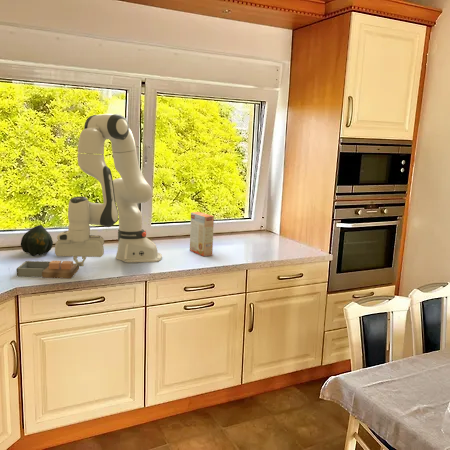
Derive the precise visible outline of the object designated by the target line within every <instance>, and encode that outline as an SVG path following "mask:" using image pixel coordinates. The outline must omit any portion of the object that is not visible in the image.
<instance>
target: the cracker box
mask: <svg viewBox="0 0 450 450" xmlns="http://www.w3.org/2000/svg"><path fill="white" fill-rule="evenodd" d="M214 218H215V216H214V215H211V214H208V213H205V212H201V211H193V212H190V232H189V233H190V234H189V235H190V236H189V251H190V252H192V253H195V254H196V255H197V254H198V255H199V256H201V257H210V256H213V250H214V249H213V248H214V247H213V245H214V244H213V243H214V226H215V225H214V223H215V221H214V220H215V219H214Z"/></svg>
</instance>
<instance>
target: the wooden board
mask: <svg viewBox="0 0 450 450" xmlns="http://www.w3.org/2000/svg"><path fill="white" fill-rule="evenodd" d="M79 270H80V266H76V263H74V262H73V267H72V268H71V269H61V267H60V268H59V269H49V266H48V267H47V268H46V269H45V270H44V271H43V272H42V277H41V278H42V279H73V278H74V276H75V275H76V274H77V272H78V271H79Z"/></svg>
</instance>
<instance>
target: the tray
mask: <svg viewBox="0 0 450 450" xmlns="http://www.w3.org/2000/svg"><path fill="white" fill-rule="evenodd" d="M50 262H51V261H48V260H47V261H44V260H41V261H40V260H39V261H38V260H37V261H36V260H26V261H25V262H23V263H22V264H20V265H19V266H18V267H17V268H16V277H17V276H18V277H17V278H19V277H21V278H22V277H23V278H42V272H43V271H44V270H45V269H46V268H47V267H48V266H49V263H50Z"/></svg>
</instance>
